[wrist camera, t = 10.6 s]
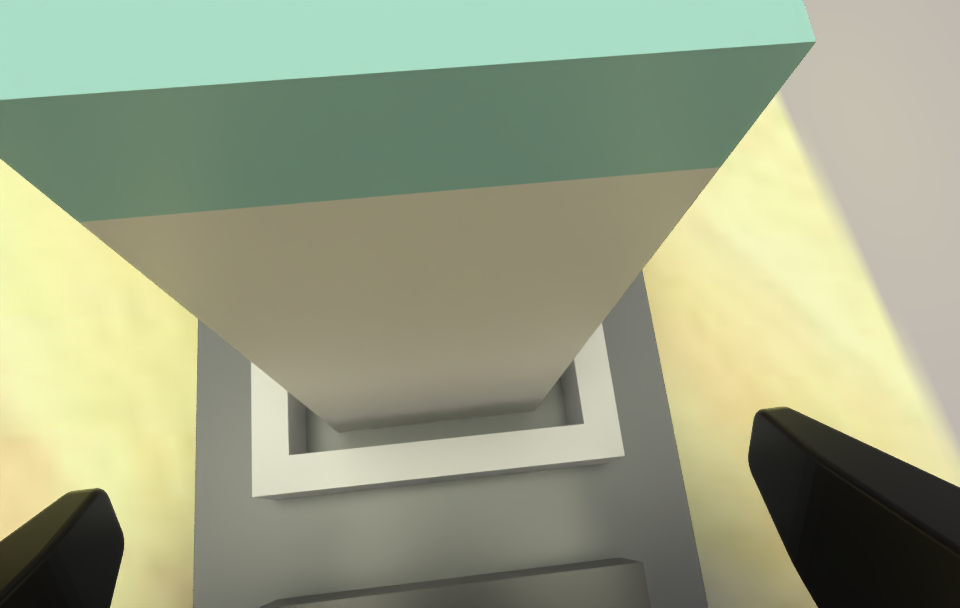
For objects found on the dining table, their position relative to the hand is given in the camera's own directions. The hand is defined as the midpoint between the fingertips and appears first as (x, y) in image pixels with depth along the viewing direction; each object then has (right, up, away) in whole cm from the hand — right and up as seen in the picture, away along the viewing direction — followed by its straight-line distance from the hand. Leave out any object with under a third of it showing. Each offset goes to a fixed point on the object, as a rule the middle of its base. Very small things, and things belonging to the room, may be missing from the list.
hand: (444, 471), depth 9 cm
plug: (-1, +2, +9) cm, 9 cm away
